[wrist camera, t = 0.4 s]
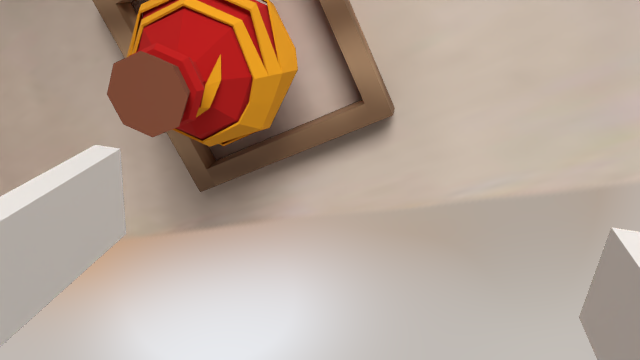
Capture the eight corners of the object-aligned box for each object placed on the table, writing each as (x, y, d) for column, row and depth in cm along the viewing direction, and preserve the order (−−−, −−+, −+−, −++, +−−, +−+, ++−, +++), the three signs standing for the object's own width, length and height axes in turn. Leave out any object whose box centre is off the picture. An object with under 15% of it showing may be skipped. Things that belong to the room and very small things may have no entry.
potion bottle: (253, 144, 41) (166, 231, 27) (155, 48, 40) (13, 90, 26) (346, 50, 37) (299, 98, 23) (241, -61, 35) (125, -79, 22)
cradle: (104, -9, 39) (88, -8, 37) (297, -123, 33) (289, -129, 32) (209, 182, 43) (200, 192, 41) (394, 108, 38) (392, 115, 36)
